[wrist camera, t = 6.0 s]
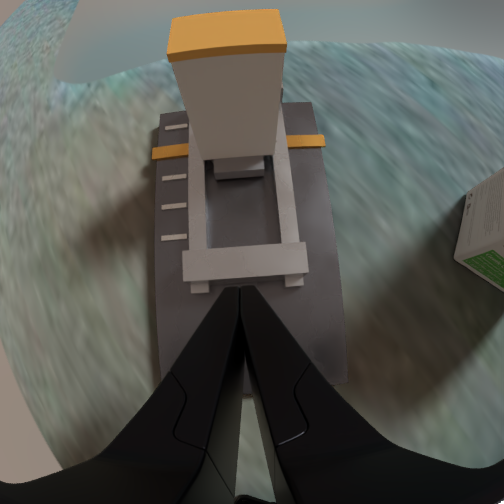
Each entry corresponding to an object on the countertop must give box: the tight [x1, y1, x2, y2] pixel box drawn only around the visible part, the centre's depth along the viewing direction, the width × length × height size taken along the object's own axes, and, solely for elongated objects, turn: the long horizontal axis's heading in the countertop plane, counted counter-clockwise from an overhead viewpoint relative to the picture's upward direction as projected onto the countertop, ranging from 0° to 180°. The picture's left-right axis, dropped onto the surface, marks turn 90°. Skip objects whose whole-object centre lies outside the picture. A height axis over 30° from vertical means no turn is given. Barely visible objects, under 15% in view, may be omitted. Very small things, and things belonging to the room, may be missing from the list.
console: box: [152, 83, 348, 394], centre depth 18 cm, size 19×12×4 cm, turn 4°
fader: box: [167, 9, 287, 180], centre depth 15 cm, size 4×4×10 cm
